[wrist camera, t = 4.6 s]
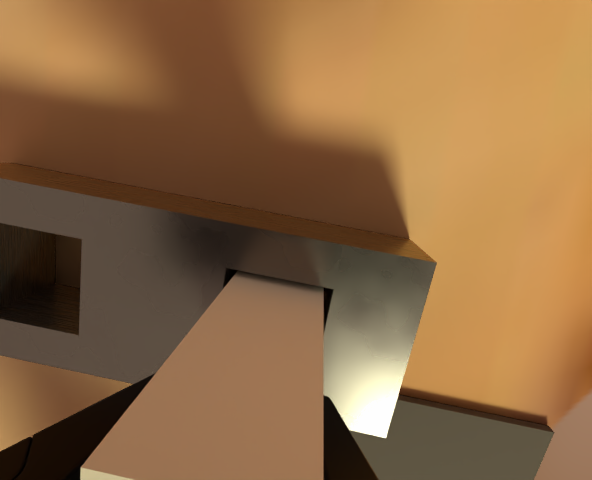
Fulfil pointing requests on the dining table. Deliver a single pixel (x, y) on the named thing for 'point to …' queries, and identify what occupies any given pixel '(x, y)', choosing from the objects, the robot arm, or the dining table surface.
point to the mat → (454, 444)
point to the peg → (230, 394)
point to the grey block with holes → (196, 283)
